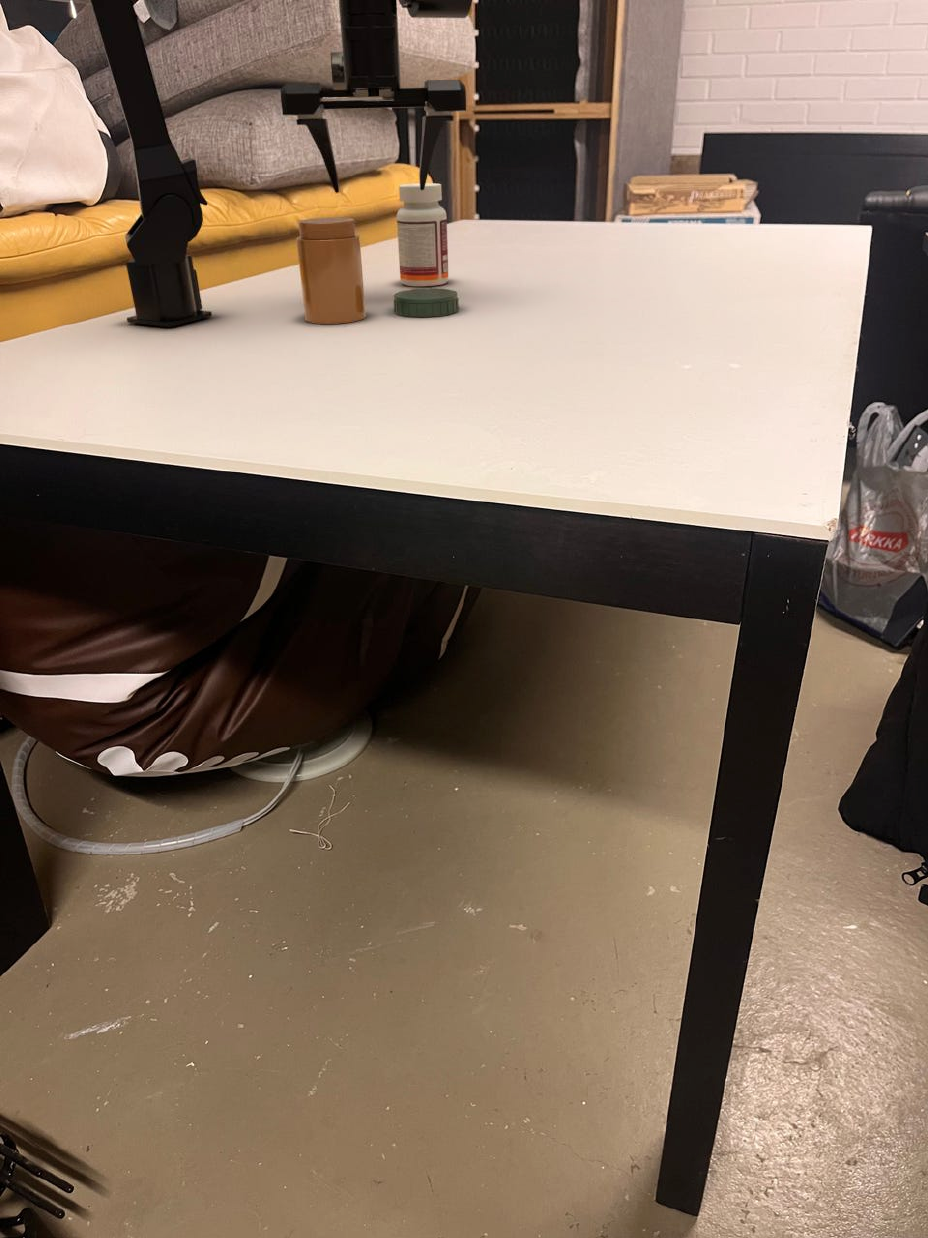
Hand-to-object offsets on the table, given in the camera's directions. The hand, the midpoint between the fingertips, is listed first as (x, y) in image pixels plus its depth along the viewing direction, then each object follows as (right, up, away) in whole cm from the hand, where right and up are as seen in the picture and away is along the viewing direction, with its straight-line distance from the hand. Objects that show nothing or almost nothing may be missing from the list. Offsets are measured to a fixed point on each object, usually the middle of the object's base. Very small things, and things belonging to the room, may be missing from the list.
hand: (379, 191), depth 95 cm
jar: (-5, -14, -2) cm, 15 cm away
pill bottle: (+4, -4, +17) cm, 18 cm away
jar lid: (+5, -12, -1) cm, 13 cm away
